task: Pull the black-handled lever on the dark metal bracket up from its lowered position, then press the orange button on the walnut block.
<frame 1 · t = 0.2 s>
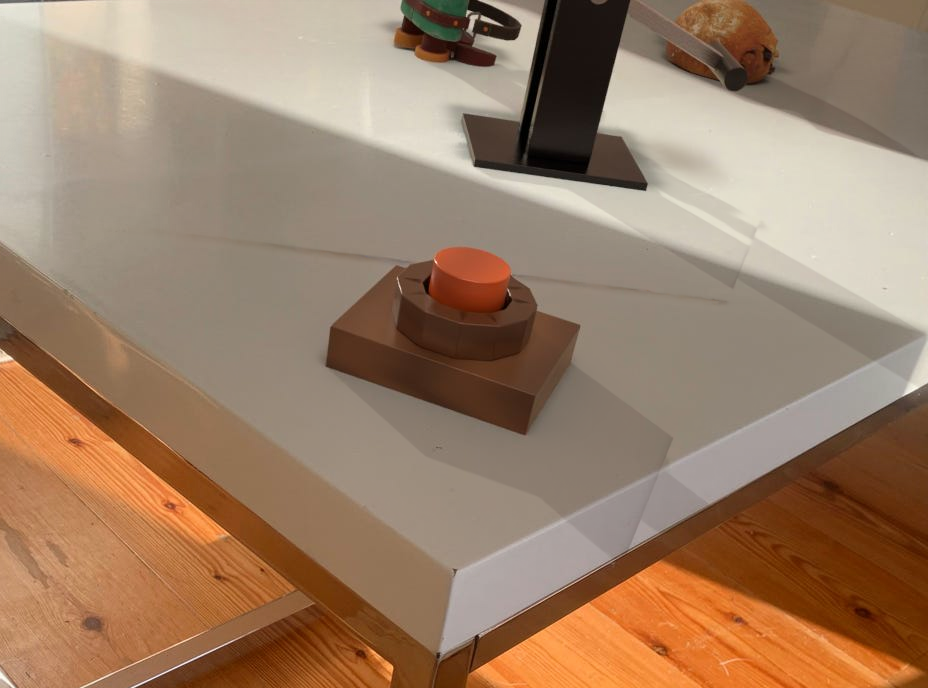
lever: (655, 21, 74), point 10 cm above the table, hinge at -20.0°
button: (469, 281, 52), point 4 cm above the table, slide at 0.1 cm
button block: (452, 365, 55), on the table
bracket: (548, 163, 79), on the table
bread roll: (717, 70, 108), on the table
binoculars: (451, 60, 95), on the table
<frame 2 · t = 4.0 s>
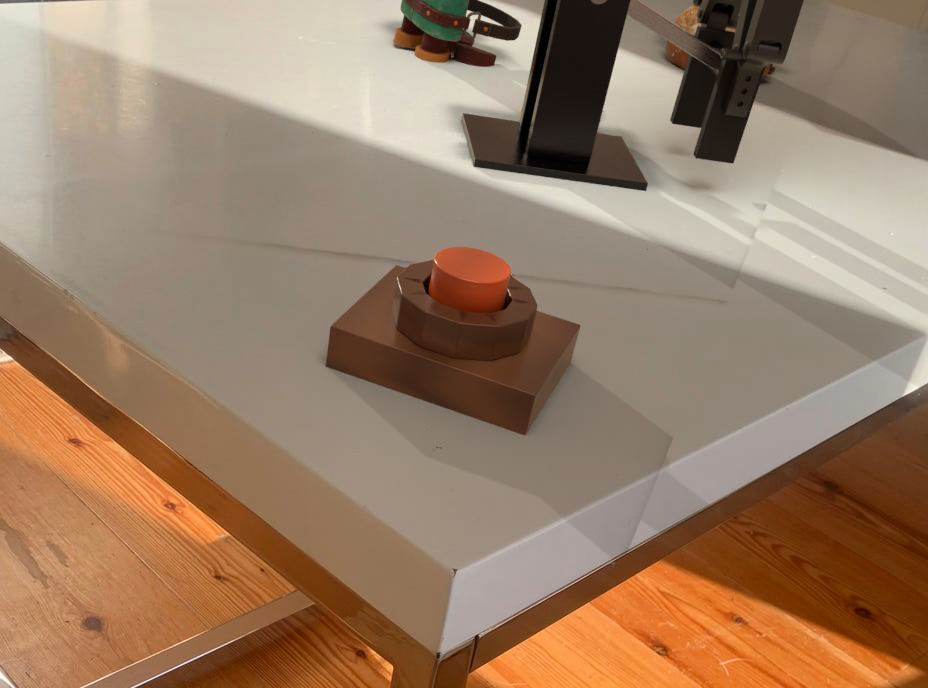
hand: (700, 140, 79), 3 cm above the table, tool pointing down, fingers closed on lever, 6 cm apart
lever: (655, 21, 74), point 10 cm above the table, hinge at -20.0°, touching gripper
everything else where it was.
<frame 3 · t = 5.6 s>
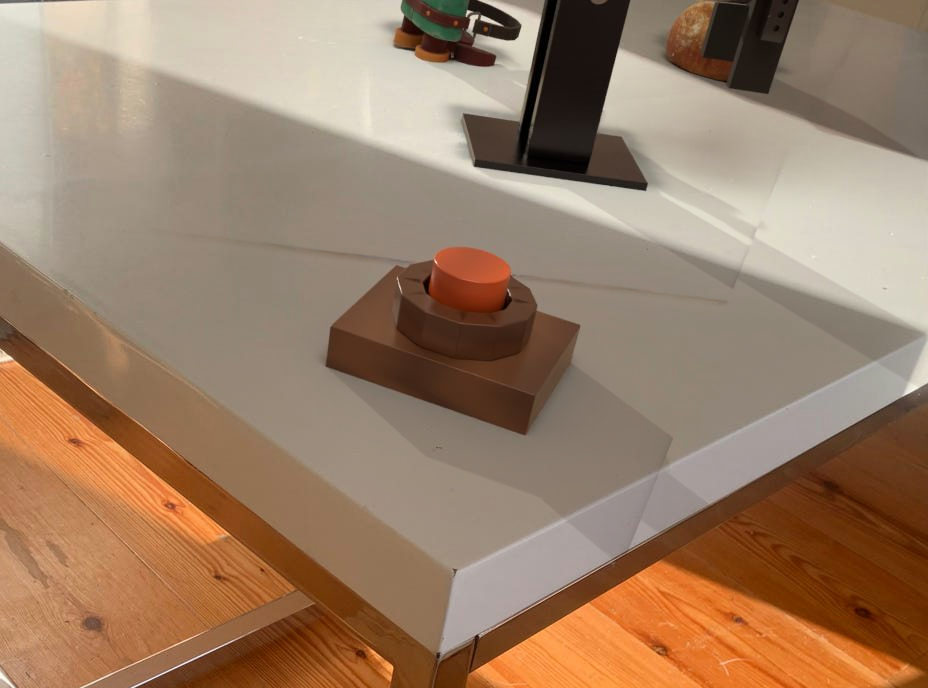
hand: (733, 72, 76), 8 cm above the table, tool pointing down, fingers closed on lever, 6 cm apart
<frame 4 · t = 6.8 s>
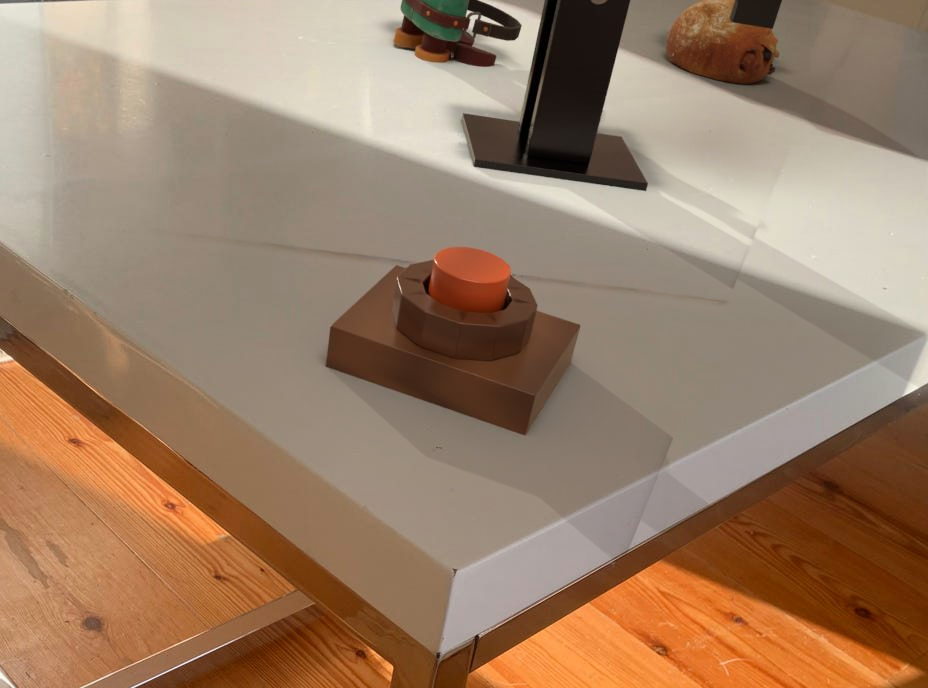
hand: (736, 9, 74), 12 cm above the table, tool pointing down, fingers closed on lever, 6 cm apart
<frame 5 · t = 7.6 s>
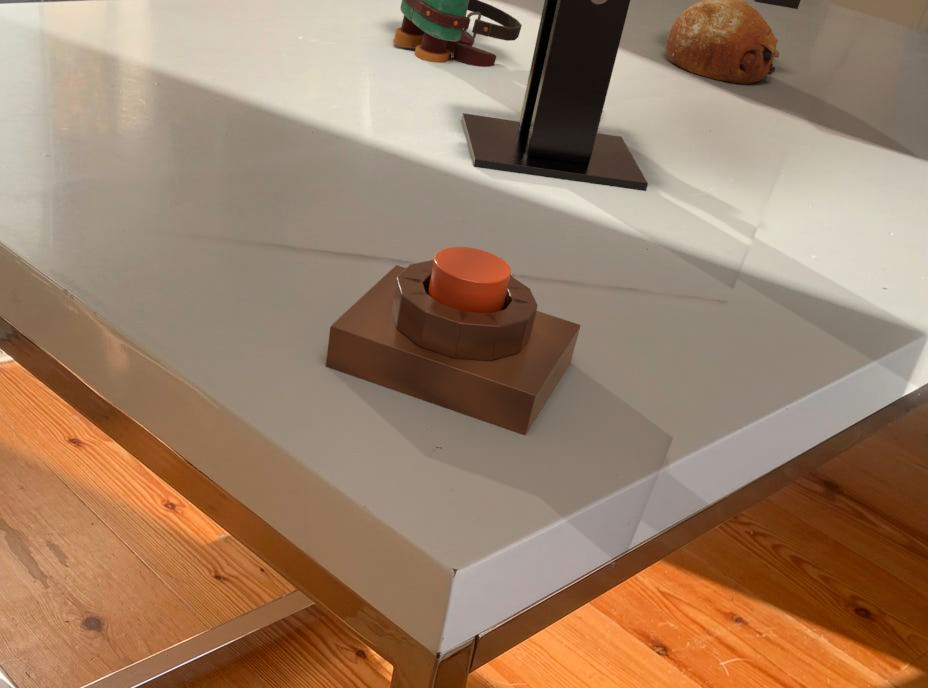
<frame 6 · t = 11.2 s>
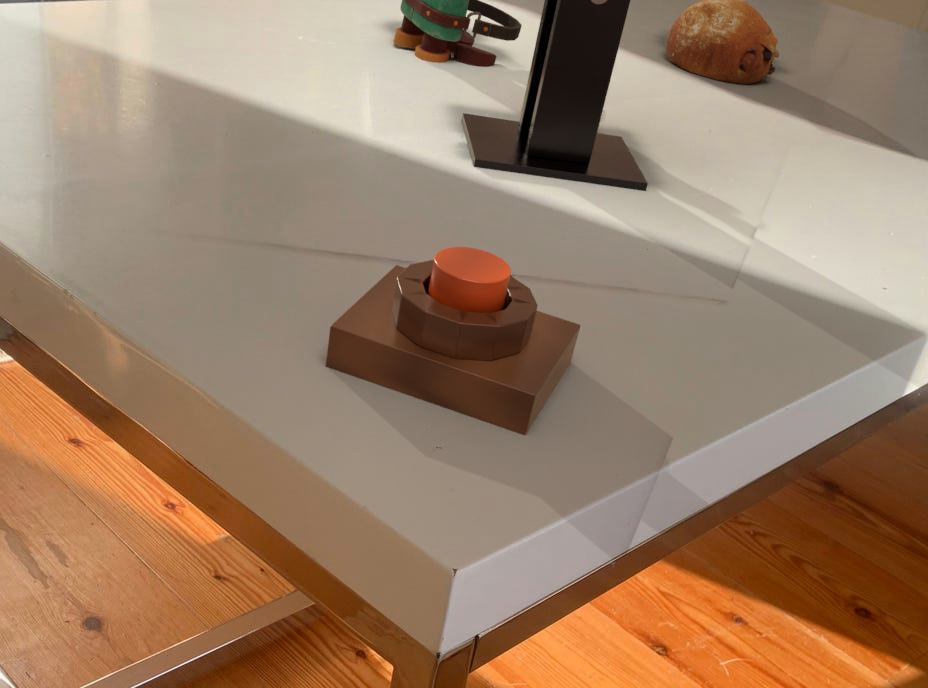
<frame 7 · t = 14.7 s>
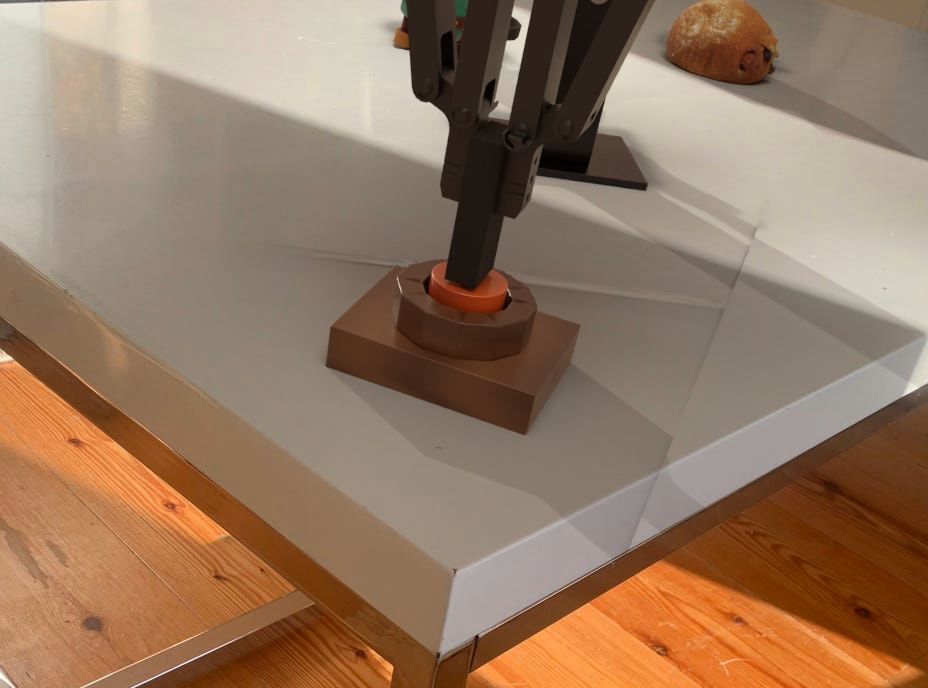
hand: (469, 272, 52), 5 cm above the table, tool pointing down, fingers closed
button: (466, 295, 52), point 4 cm above the table, slide at -0.6 cm, touching gripper
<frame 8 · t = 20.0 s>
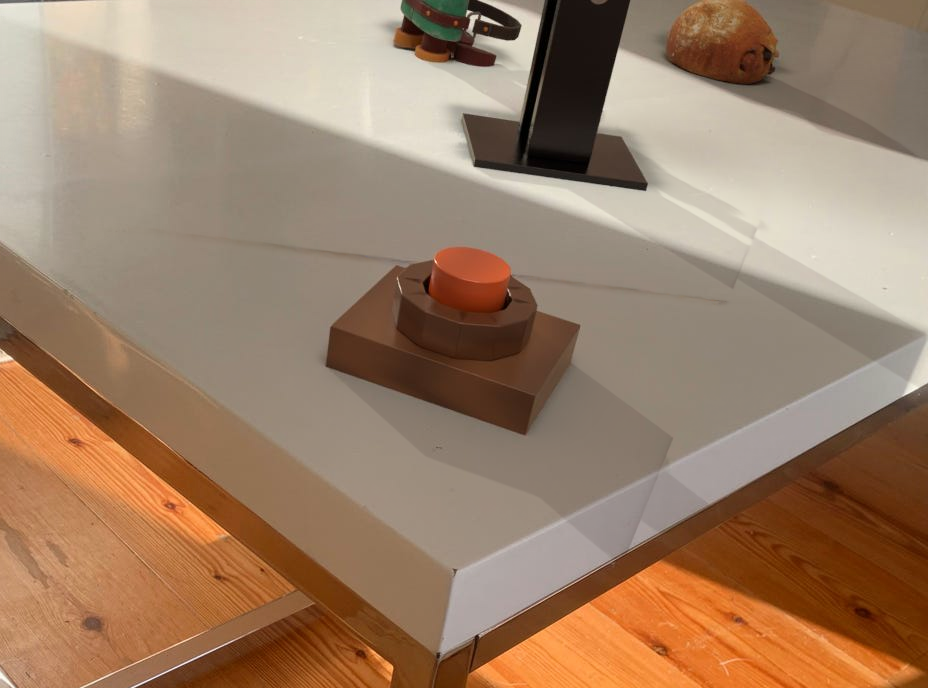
button: (469, 281, 52), point 4 cm above the table, slide at 0.1 cm
at the end: lever at +24° (first picture: -20°); button pushed in 1.0 cm at the most during the clip, back to where it started at the end; button slide at 0.1 cm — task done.
